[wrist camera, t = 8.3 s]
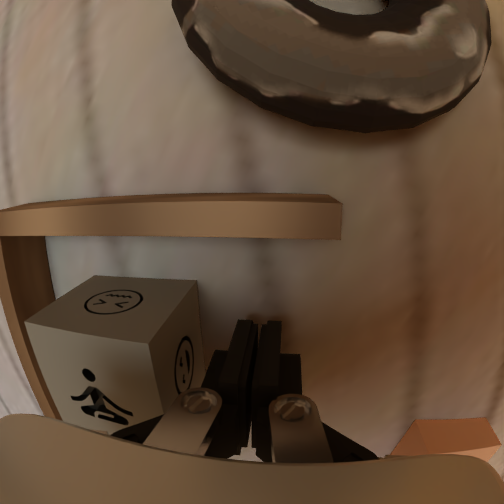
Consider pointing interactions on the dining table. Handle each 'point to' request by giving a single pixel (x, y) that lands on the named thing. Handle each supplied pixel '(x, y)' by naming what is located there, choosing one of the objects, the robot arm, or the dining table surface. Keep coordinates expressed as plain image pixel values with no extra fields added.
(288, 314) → the dining table surface
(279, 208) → the box
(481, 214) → the dining table surface
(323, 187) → the dining table surface
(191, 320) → the dice cube
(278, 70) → the donut
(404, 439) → the terracotta tile
